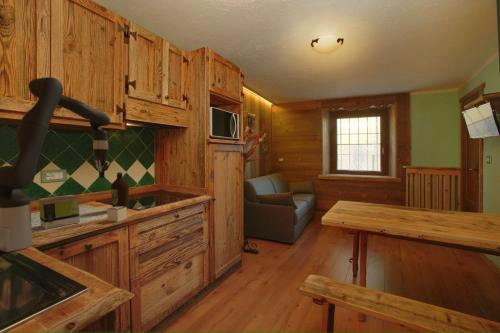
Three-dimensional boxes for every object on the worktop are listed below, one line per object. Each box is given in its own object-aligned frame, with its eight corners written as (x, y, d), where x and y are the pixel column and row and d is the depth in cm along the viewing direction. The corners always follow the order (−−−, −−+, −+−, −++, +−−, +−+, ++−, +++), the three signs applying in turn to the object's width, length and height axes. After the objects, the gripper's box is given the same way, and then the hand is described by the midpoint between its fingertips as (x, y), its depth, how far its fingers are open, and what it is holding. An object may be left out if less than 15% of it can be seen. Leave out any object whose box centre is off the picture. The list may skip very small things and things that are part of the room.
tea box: (74, 219, 138) (73, 194, 137) (80, 223, 132) (78, 196, 131) (40, 225, 127) (38, 198, 126) (44, 229, 120) (42, 200, 119)
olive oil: (123, 207, 169) (122, 171, 168) (132, 209, 164) (131, 172, 162) (108, 210, 160) (107, 172, 159) (117, 212, 155) (116, 173, 153)
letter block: (107, 208, 136) (107, 220, 136) (117, 209, 134) (118, 221, 134) (116, 205, 142) (117, 217, 143) (126, 206, 141) (127, 218, 141)
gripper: (87, 148, 140) (88, 178, 141) (102, 148, 134) (103, 179, 135) (99, 148, 146) (100, 176, 147) (114, 148, 141) (115, 177, 142)
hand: (101, 178), depth 141 cm, fingers closed
